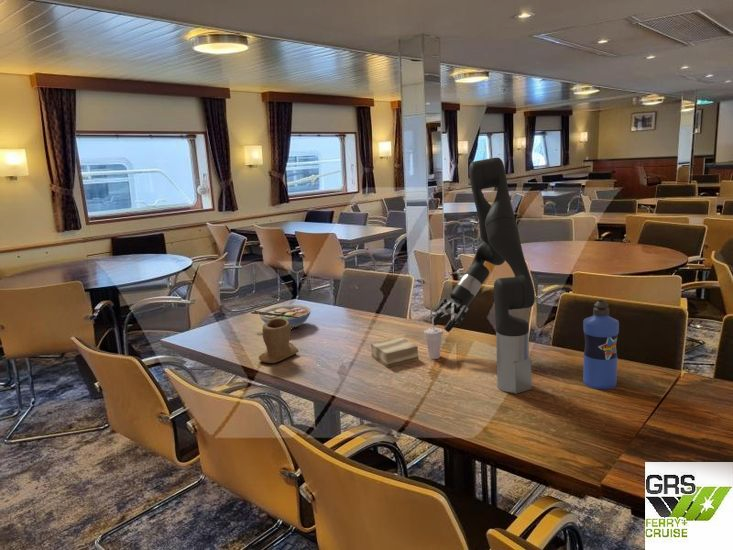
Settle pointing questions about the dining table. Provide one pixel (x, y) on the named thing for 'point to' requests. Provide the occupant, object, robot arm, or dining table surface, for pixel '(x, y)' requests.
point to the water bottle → (600, 348)
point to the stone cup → (277, 341)
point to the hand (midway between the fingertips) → (439, 327)
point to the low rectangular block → (394, 352)
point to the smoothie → (433, 341)
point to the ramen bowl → (286, 313)
